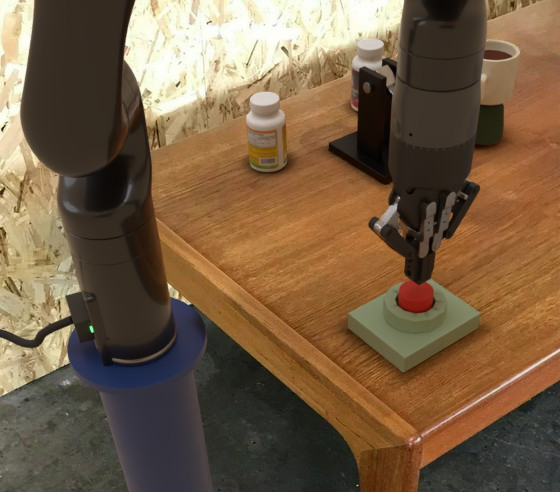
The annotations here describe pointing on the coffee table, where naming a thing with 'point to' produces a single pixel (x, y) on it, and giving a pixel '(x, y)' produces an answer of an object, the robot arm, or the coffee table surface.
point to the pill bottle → (365, 63)
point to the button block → (412, 326)
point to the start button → (415, 297)
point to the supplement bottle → (266, 133)
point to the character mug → (496, 89)
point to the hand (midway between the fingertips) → (418, 278)
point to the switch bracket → (370, 126)
